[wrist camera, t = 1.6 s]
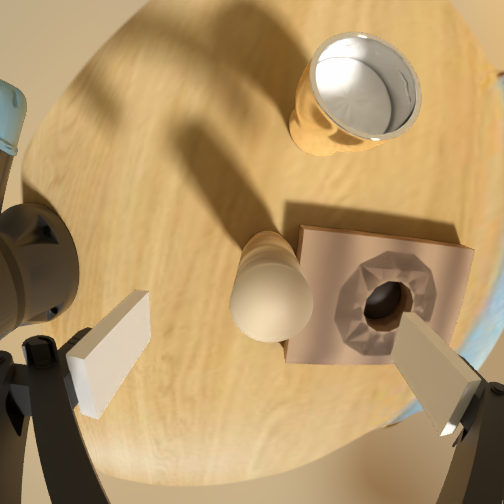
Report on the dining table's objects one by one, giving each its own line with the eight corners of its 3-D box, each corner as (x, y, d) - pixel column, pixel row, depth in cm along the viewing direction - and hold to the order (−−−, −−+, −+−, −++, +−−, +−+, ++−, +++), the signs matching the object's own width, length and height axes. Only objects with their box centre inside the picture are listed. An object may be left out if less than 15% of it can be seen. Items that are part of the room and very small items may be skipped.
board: (283, 348, 34) (285, 363, 31) (300, 224, 30) (304, 229, 28) (432, 349, 33) (443, 361, 31) (460, 244, 30) (474, 249, 27)
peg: (241, 271, 32) (227, 338, 18) (245, 225, 31) (232, 261, 17) (288, 276, 32) (306, 344, 18) (293, 229, 31) (319, 269, 17)
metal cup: (282, 157, 29) (303, 134, 14) (285, 90, 27) (306, 19, 13) (350, 164, 29) (425, 154, 14) (353, 99, 27) (421, 45, 13)
